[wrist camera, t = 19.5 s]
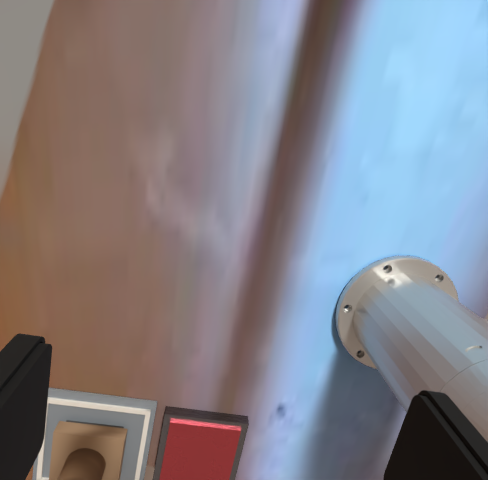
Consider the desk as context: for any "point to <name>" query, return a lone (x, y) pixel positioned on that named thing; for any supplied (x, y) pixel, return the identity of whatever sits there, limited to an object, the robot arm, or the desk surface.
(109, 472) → the stamp
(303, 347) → the desk surface
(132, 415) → the board
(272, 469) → the desk surface
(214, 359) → the desk surface
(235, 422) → the ink pad
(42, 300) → the desk surface
